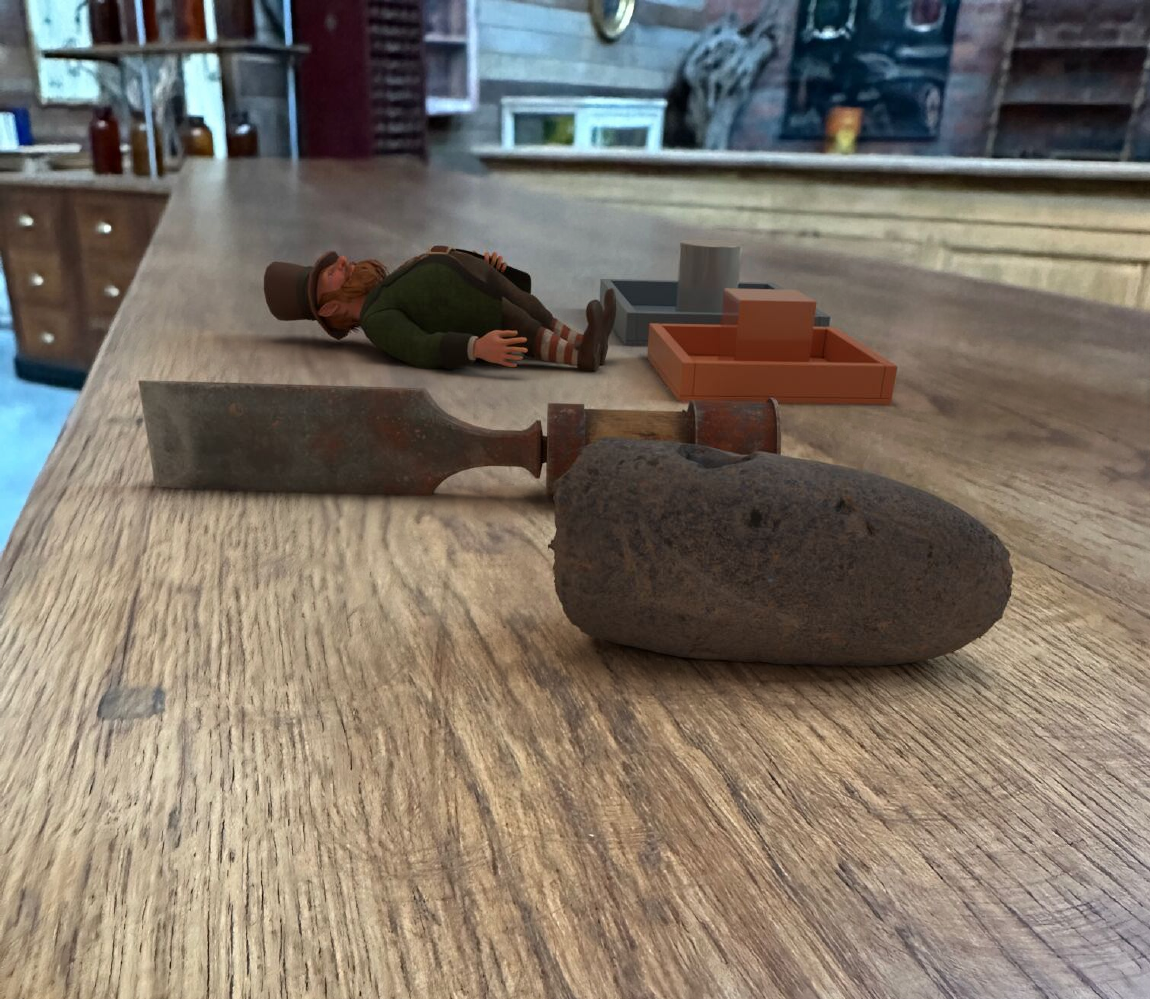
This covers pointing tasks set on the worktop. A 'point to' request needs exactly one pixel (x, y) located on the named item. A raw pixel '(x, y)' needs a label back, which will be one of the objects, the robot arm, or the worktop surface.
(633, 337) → the slate tray
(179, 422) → the chisel
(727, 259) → the stone cylinder
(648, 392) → the worktop surface
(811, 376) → the terracotta tray
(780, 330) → the clay block
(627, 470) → the perforated stone tool
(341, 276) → the leprechaun
